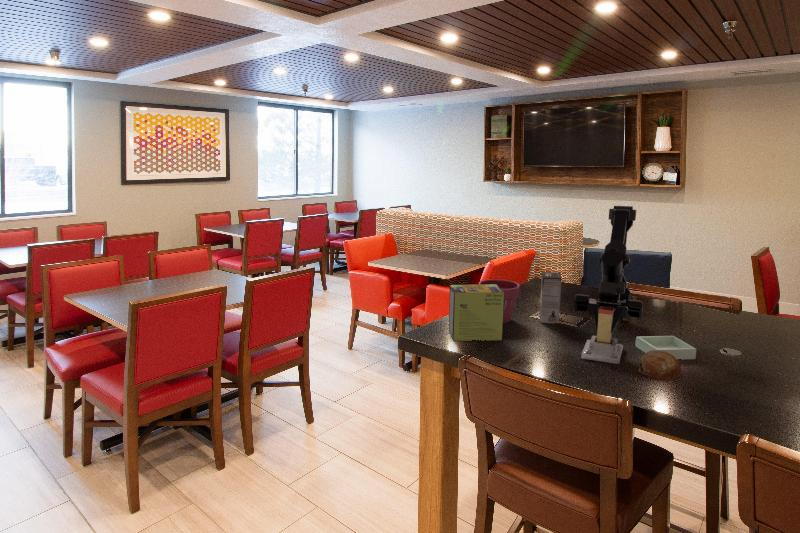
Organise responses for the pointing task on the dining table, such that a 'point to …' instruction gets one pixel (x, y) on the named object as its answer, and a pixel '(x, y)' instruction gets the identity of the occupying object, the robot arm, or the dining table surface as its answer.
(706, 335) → the dining table surface
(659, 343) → the tray
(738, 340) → the dining table surface
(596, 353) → the bracket
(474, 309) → the protein box
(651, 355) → the bread roll
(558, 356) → the dining table surface
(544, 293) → the coffee box
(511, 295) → the plant pot
